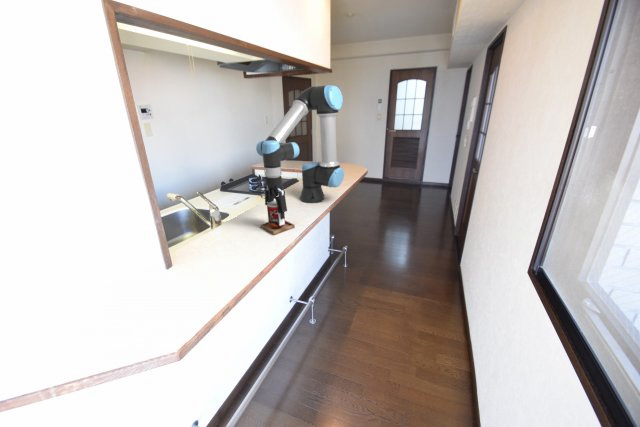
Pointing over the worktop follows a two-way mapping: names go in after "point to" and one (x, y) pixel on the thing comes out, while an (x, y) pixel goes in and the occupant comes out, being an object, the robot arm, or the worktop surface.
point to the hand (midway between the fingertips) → (277, 222)
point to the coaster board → (277, 228)
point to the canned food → (273, 214)
